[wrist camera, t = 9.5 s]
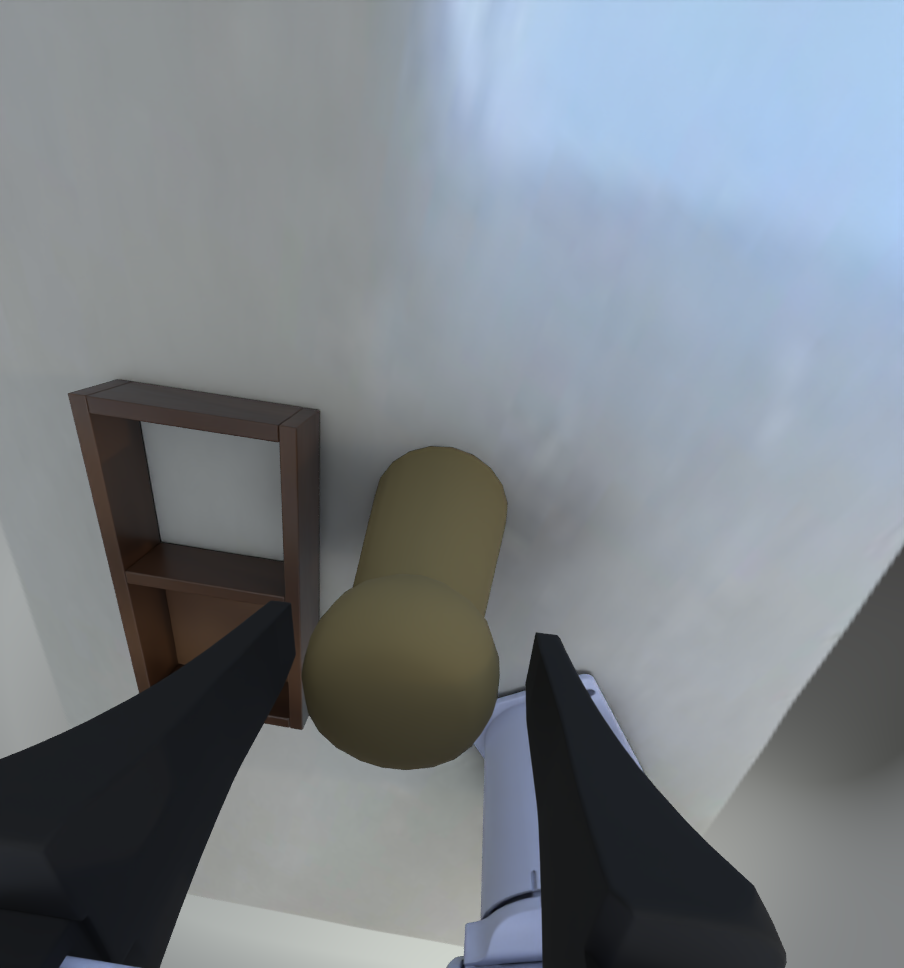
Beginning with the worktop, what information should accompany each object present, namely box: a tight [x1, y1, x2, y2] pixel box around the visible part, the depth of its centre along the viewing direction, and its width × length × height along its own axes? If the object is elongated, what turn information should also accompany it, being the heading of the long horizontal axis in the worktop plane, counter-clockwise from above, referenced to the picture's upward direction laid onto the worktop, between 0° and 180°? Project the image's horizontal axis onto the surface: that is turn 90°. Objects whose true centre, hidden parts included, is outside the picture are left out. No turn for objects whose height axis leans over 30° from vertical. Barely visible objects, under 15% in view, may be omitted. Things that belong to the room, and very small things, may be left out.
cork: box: [301, 446, 507, 770], centre depth 16 cm, size 6×6×11 cm
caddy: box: [68, 379, 320, 730], centre depth 22 cm, size 17×9×2 cm, turn 173°
